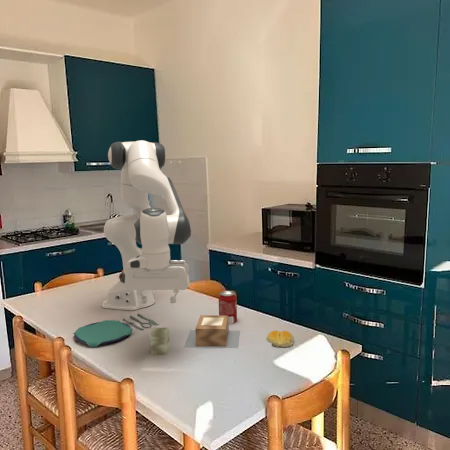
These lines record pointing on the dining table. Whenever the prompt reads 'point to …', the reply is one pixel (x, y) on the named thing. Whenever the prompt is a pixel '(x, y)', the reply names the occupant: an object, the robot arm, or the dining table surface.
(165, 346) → the sage block
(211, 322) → the wooden cube box
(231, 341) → the grey flat slab
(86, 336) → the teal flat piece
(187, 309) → the dining table surface
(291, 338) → the bread roll
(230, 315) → the soda can
